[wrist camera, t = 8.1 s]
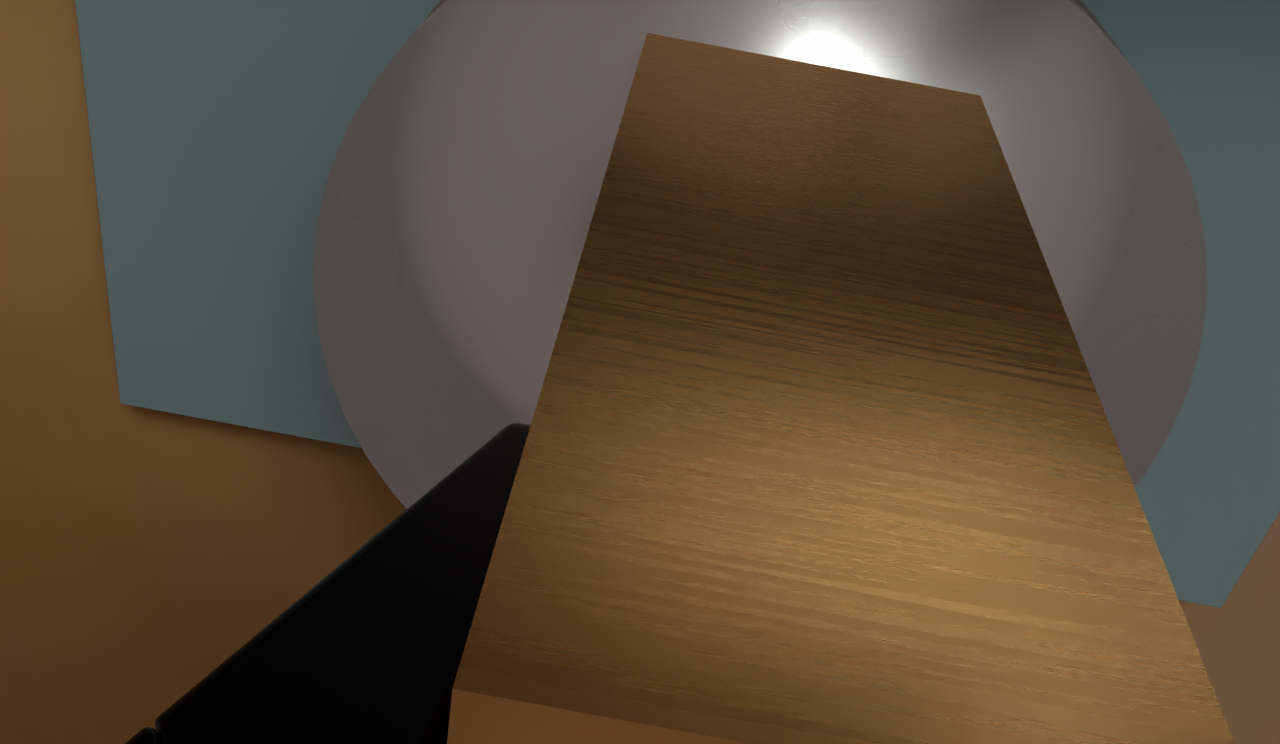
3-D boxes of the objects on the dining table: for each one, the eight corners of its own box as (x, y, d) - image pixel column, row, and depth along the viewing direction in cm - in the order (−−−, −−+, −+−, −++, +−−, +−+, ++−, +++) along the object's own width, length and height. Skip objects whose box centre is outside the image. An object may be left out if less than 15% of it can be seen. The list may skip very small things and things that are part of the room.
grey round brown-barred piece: (1242, -98, 10) (2477, 747, 3) (980, 520, 14) (1201, 1541, 7) (427, -252, 10) (-531, 187, 3) (395, 411, 14) (-28, 1316, 7)
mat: (1670, -211, 11) (1713, -200, 10) (1207, 576, 16) (1221, 607, 16) (51, -519, 11) (16, -524, 10) (140, 378, 16) (120, 403, 16)
